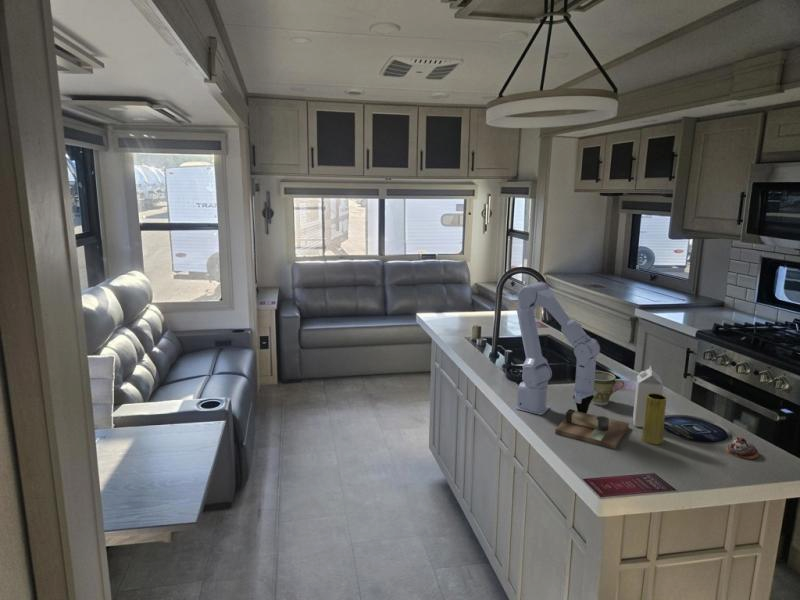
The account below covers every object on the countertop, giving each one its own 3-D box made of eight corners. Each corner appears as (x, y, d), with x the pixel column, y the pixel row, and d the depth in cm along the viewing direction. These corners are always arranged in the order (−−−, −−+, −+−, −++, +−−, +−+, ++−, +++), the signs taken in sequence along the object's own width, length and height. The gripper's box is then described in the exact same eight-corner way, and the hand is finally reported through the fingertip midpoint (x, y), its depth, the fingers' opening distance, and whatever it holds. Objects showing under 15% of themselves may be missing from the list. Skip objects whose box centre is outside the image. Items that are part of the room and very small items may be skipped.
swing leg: (609, 427, 172) (610, 418, 171) (606, 431, 169) (607, 422, 168) (568, 417, 179) (569, 408, 178) (565, 421, 176) (566, 412, 175)
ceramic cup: (581, 404, 194) (583, 377, 192) (586, 394, 202) (588, 369, 200) (620, 411, 188) (623, 383, 186) (623, 401, 197) (626, 374, 194)
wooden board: (555, 433, 171) (555, 428, 171) (572, 414, 186) (572, 409, 185) (614, 449, 162) (615, 444, 161) (628, 427, 176) (628, 422, 175)
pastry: (722, 453, 160) (724, 437, 159) (730, 444, 165) (732, 429, 164) (754, 463, 154) (756, 447, 153) (761, 454, 159) (763, 438, 158)
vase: (665, 445, 164) (670, 401, 161) (643, 443, 165) (648, 399, 162) (660, 436, 170) (665, 393, 166) (639, 434, 171) (643, 391, 168)
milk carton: (656, 420, 180) (662, 366, 176) (658, 430, 174) (664, 373, 170) (632, 417, 183) (638, 363, 179) (634, 426, 176) (639, 371, 172)
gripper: (592, 386, 166) (588, 427, 169) (603, 372, 178) (600, 411, 181) (568, 382, 170) (565, 422, 173) (581, 368, 181) (578, 406, 184)
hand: (582, 416), depth 177 cm, fingers closed
